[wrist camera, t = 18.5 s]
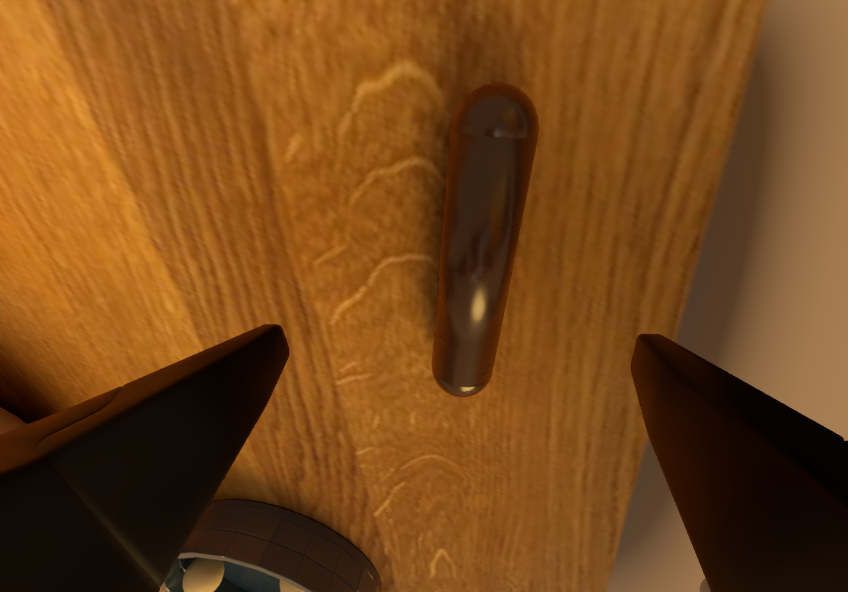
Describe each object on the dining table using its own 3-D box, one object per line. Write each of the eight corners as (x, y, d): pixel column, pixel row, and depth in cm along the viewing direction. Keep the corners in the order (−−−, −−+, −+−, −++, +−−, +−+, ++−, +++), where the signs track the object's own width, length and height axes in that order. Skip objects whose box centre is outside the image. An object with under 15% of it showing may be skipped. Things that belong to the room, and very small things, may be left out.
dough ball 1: (227, 580, 27) (203, 553, 27) (193, 616, 26) (168, 587, 26) (235, 565, 30) (213, 540, 30) (204, 596, 29) (181, 570, 29)
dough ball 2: (334, 584, 25) (309, 615, 23) (303, 587, 26) (275, 617, 24) (325, 542, 26) (299, 568, 23) (294, 546, 27) (266, 571, 24)
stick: (469, 363, 16) (499, 400, 14) (420, 376, 15) (445, 418, 13) (511, 85, 11) (568, 86, 9) (439, 79, 10) (485, 79, 8)
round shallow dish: (419, 573, 25) (407, 637, 22) (337, 629, 33) (320, 681, 30) (211, 467, 24) (169, 520, 21) (179, 553, 32) (145, 600, 29)
